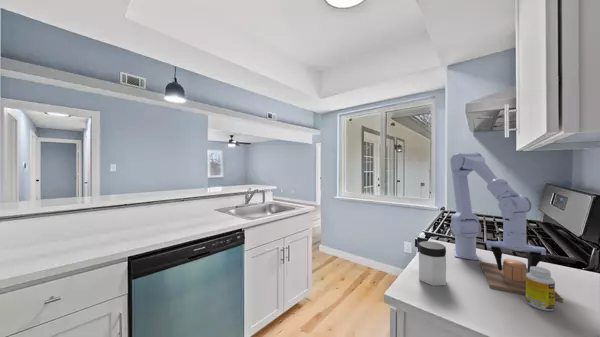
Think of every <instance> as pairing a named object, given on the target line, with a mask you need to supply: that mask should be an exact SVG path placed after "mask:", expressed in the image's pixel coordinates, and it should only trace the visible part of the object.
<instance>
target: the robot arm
mask: <svg viewBox="0 0 600 337" xmlns="http://www.w3.org/2000/svg"><path fill="white" fill-rule="evenodd" d="M449 161H450V168H451V177H452V185H453V193H454V200H455V209H456V212H455V213H453V214H452V215H451V217H450V220H451V221H450V223H449V225H450V226H449V227H450V229H451V231H452V233H453V234H454V235H455V238H454V239H455V240H454V242H455V243H454V244H455V245H454V247H455V248H453V254H454V257H456V258H461V259H467V260H472V261H473V260H474V261H479V257H478V255H477V237H478V234H480V233H481V232H482V224H481V223H480V221H479V217H478V215H477V214H475V213H474V212H473V210H472V203H471V202H472V201H471V195H470V187H469V180H468V179H469V178H468V175H469V174H470V173H472V172H475V174H476V175H478V176H480V178H481V179H483V181H484V182H485V183H487V185H486V188H487V190H488V191H489V192H490V193H491V195H492V196H494V198H495V199H496V200H497V201H498V203H497V205H498V208H499V211H500V212H501V216H502V224H503V225H502V226H503V227H502V230H503V231H502V232H503V233H502V234H503V235H502V241H499V240H498V241H497V240H493V241H492V240H486V248H488V249H490V250H491V252H492V254H493V256H494V258H495V261H496V264H497V266H498V269H499V270H501V271H502V265H503V262H502V256H503V252H502V250H506V251H507V250H508V251H516V252H522V253H523V252H524V253H526V255H527V256H526V257H527V271H528V273H529V272H530V267H531V266H536V267H538V264H539V263H540V262H541V261H542V260H543V256H547V249H546V248H545V247H542V246H536V245H531V244H527V213H529V212H530V211H531V210H532V208H533V207H532V203H531V200H530V199H529V197H527V196H525V195H521V194H520V193H518V192H517V191H516V190H514V189H513V187H512V186H510V184H509V182H508V180H505V179H504V178H498V177H497V176H496V174H494V172H493V171H492V170H491V169H490V167H489V166H488V165H487V164H486V159H485V157H484V156H483V155H482V154H481V153H480V152H455V153H454V154H453V155H452V157H451V158H450V159H449Z"/></svg>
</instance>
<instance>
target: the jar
mask: <svg viewBox="0 0 600 337" xmlns="http://www.w3.org/2000/svg"><path fill="white" fill-rule="evenodd" d="M446 254H447V248H446V245H444V244H442V243H440V242H435V241H427V240H424V241H419V243H418V280H419V281H421V282H422V283H426V284H427V285H430V286H434V287H436V286H446V285H447V257H446Z"/></svg>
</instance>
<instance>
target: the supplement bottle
mask: <svg viewBox="0 0 600 337" xmlns="http://www.w3.org/2000/svg"><path fill="white" fill-rule="evenodd" d="M551 274H552V273H551V270H549V269H547V268H544V267H541V266H531V267H530V272H529V273H527V274H526V295H525V301H526V303H527V304H528V305H529V306H531V307H532V308H535V309H538V310H542V311H546V312H552V311H554V310H555V307H556V306H555V304H556V301H555V291H556V284H555V283H556V281H555V279H554V278H553V277H551V276H552V275H551Z"/></svg>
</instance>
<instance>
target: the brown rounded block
mask: <svg viewBox="0 0 600 337" xmlns="http://www.w3.org/2000/svg"><path fill="white" fill-rule="evenodd" d="M502 265H503V275H504V277H506V278H509V279H511V280H515V281H522V282H523V281H526V274H527V268H528V266H527V264H526V263H525V262H523V261H521V260H517V259H513V258H512V259H510V258H505V259H503V261H502Z"/></svg>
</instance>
